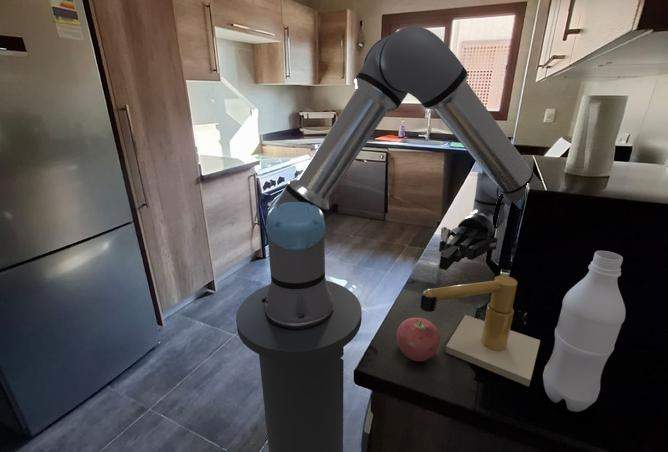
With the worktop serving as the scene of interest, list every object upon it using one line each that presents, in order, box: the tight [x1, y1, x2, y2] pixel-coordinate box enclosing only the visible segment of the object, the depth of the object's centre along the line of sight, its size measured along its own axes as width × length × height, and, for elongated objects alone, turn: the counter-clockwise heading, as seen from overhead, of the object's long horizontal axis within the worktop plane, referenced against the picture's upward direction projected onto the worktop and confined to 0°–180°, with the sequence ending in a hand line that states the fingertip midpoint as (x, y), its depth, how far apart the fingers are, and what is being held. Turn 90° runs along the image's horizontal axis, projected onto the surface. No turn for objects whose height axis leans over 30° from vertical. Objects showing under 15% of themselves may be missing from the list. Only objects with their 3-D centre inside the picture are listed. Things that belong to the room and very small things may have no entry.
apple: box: [396, 317, 441, 362], centre depth 62 cm, size 7×7×8 cm
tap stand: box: [444, 302, 541, 388], centre depth 63 cm, size 14×12×9 cm
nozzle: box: [419, 275, 518, 313], centre depth 59 cm, size 18×4×6 cm, turn 103°
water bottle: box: [542, 250, 626, 413], centre depth 50 cm, size 7×7×25 cm
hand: (443, 263), depth 67 cm, fingers closed
